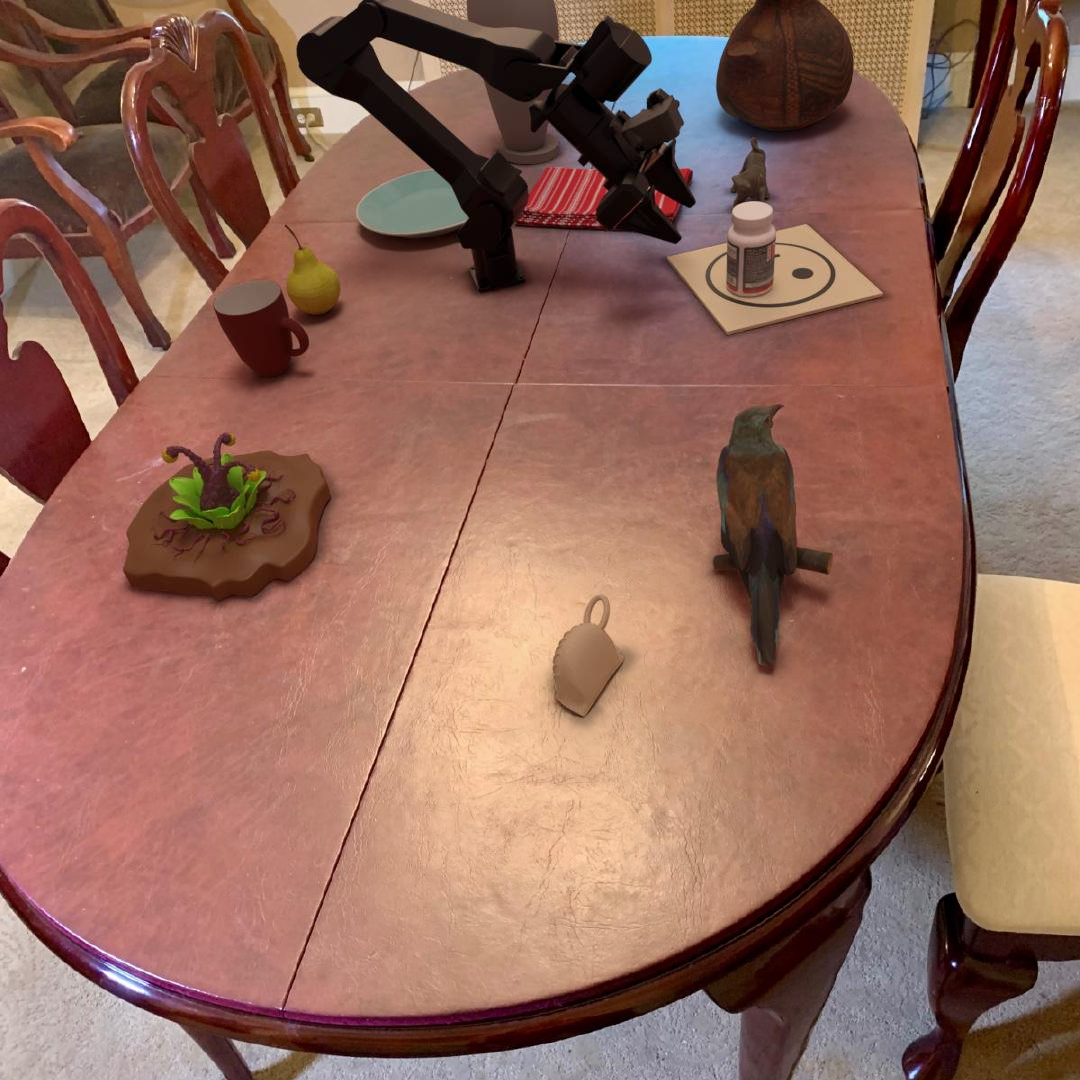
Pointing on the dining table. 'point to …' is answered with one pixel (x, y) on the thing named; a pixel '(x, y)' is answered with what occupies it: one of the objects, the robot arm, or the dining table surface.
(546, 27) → the vase
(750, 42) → the jug
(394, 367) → the dining table surface
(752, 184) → the dog figurine
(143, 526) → the plant
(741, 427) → the bird figurine
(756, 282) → the pill bottle
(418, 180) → the plate
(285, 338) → the mug
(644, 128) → the robot arm
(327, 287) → the fruit
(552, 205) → the dish towel
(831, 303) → the board
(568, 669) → the decorative ornament
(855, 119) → the dining table surface
